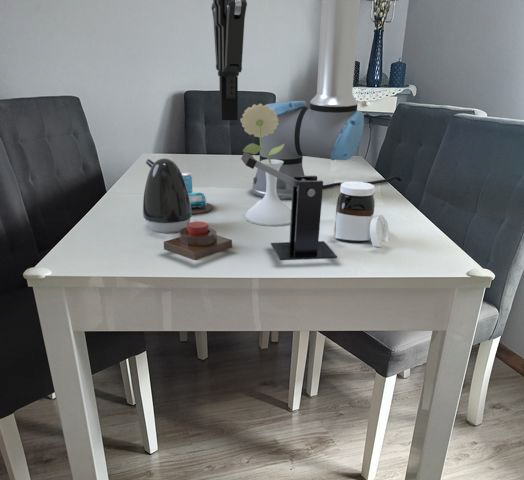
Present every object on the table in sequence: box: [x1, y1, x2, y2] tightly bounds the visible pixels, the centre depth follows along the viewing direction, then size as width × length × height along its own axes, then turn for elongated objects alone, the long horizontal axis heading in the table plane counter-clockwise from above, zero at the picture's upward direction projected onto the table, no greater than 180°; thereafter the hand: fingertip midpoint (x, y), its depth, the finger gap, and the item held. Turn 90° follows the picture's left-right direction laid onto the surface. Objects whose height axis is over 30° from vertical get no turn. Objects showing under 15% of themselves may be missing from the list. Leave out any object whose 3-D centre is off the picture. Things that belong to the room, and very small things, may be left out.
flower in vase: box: [240, 103, 291, 227], centre depth 114 cm, size 13×11×25 cm
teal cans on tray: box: [180, 171, 213, 216], centre depth 127 cm, size 12×12×8 cm
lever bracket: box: [270, 175, 338, 261], centre depth 98 cm, size 11×9×15 cm
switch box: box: [163, 226, 233, 261], centre depth 100 cm, size 10×8×4 cm
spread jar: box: [333, 181, 390, 248], centre depth 107 cm, size 12×11×12 cm
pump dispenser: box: [142, 157, 193, 234], centre depth 109 cm, size 10×10×15 cm
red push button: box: [187, 221, 209, 235], centre depth 99 cm, size 4×4×2 cm
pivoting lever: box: [240, 152, 307, 190], centre depth 93 cm, size 14×6×2 cm, turn 99°
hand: (228, 119), depth 88 cm, fingers closed
